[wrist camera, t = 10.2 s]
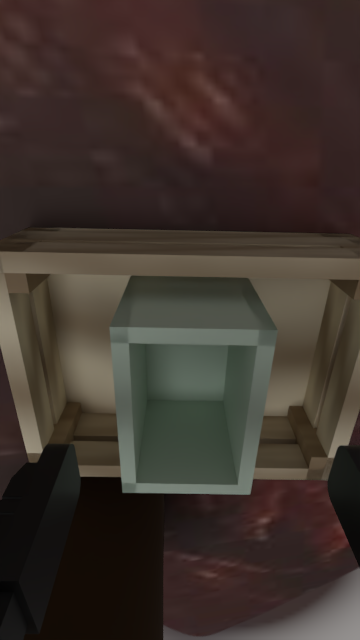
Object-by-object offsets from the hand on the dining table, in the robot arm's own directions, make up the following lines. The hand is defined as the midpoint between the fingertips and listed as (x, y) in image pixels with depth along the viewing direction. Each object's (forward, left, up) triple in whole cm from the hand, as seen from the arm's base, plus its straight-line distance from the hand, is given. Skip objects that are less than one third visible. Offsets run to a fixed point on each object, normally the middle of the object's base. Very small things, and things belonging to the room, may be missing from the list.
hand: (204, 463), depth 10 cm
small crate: (+1, 0, -8) cm, 8 cm away
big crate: (+1, 0, -9) cm, 9 cm away
